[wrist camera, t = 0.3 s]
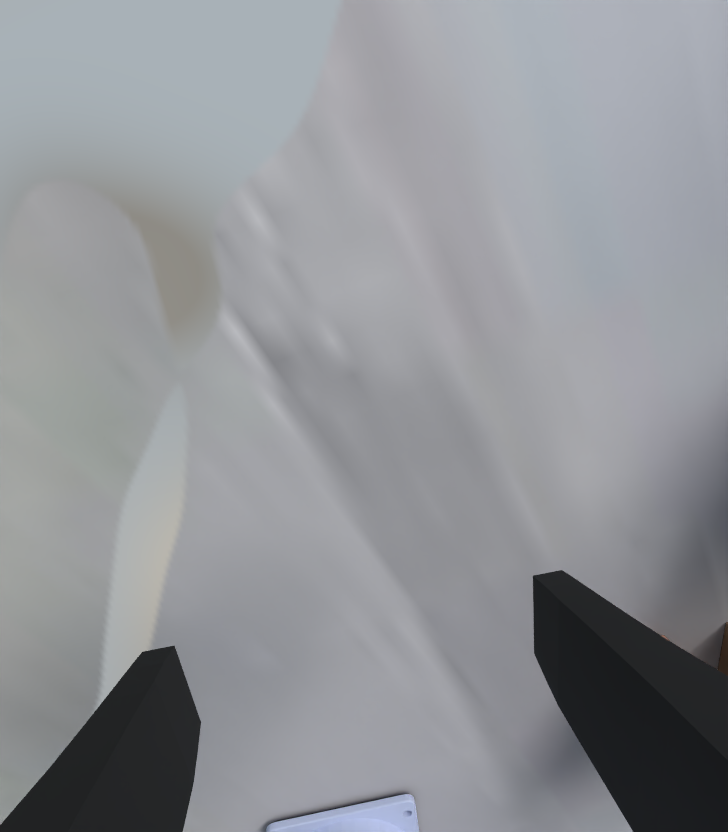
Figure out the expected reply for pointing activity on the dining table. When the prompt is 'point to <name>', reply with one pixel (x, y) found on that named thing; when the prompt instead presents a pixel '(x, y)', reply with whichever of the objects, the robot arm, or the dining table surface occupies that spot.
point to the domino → (724, 653)
